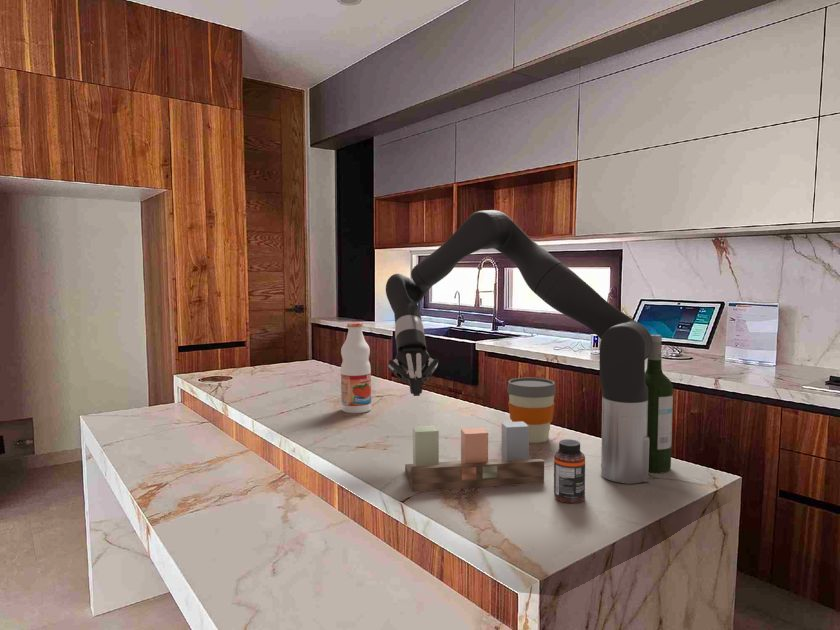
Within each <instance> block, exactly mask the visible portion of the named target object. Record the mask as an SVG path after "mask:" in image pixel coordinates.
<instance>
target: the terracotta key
mask: <svg viewBox="0 0 840 630" xmlns="http://www.w3.org/2000/svg"><path fill="white" fill-rule="evenodd" d="M488 459H489V431H487V430H486V429H485V428H484V427H470V428H460V461H461V464H464V463H481V462H488Z"/></svg>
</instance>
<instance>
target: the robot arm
mask: <svg viewBox="0 0 840 630" xmlns="http://www.w3.org/2000/svg"><path fill="white" fill-rule="evenodd" d="M488 249H494V250H496V251H497V252H499V253H501V254H502V255H504V256H505V257H506V258H507V259H509V260H510V261H511V262H512V263H513V264H514V265H515V266H516V267H517V270H518V271H519V273H520V274H521V276H522V278H523V280H524V281H525V284H526V285H527V286H528V288H529V289H530V290H531V291H532V292H533V293H534V294H535V295H536V296H537V297H538V298H540V299H541V300H542V301H543V302H544V303H546V304H547V305H548V306H550V307H551V308H552V309H553V310H556V311H557V312H558V313H561V314H562V315H564V316H566V317H568V318H571V319H572V320H574V321H576V322H578V323H580V324H582V325H583V326H585V327H587V328H588V329H589V330H590V331H592V332H593V333H594V334H595V336H597V337H598V338H599V339H600V342H599V350H598V351H599V355H598V356H599V364H598V365H599V383H600V387H601V388H602V389H601V390H602V396H601V397H602V400H601V401H602V403H601V405H602V406H601V407H602V408H601V409H602V410H601V450H600V451H601V455H600V457H601V458H600V468H601V469H600V470H601V471H600V474H601V476H602V477H603V478H604V479H606V480H609V481H611V482H614V483H620V484H629V485H632V484H640V483H649V437H648V435H647V426H648V387H647V385H646V383H645V372H646V369H645V368H646V360H648V357H649V356H650V354H651V353H652V350H653V339H652V337H651V335H652V334H651V333H650V331H649V330H648V329H647V328H646V327H645V326H644V325H643V324H642V323H640V322H638V321H636V320H635V319H633V318H632V317H630V316H629V315H627V314H626V313H624V312H623V311H621V310H620V309H618V308H617V307H615V306H613V305H612V304H611V303H609V302H608V301H607V300H606V299H605V298H603V296H601V295H600V294H599V293H598V292H597V291H596V290H595V289H594V288H592V286H590V285H589V284H588V283H587V282H586V281H584V280H583V279H582V278H581V277H580V276H579V275H578V274H576V272H574V271H573V270H571V268H569V267H568V266H567V265H566V264H564V263H563V262H562V261H560V260H559V259H557V258H556V257H555V256H553V255H552V254H551V253H549V251H548V250H547V249H545V248H543V247H542V246H540V245H539V244H538V243H537V242H536V241H534V240H533V239H532V238H531V237H530V236H528V235H527V234H526V232H524V231H523V230H522V228H520V227H519V225H517V224H516V223H515V221H514V220H513V219H512V218H511V217H510V216H508V215H507V214H506V213H504V212H502V211H499V210H495V209H489V210H488V209H487V210H478V211H476V212H473V213H472V214H470V215H469V216H468V218H466V220H465V221H464V222H463V223H462V224H461V225H460V226H459V227H458V228H457V229H456V230H455V232H454V233H453V234H451V236H450V237H448V239H447V240H446V241H445V242H443V244H442V245H440V246H439V247H438V248H437V249H436V250H434V251H433V252H432V253H430V255H427V257H425V258H424V259H422V260H421V261H419V262H418V263H417V264H416V265H415V266H414V267H412V269H411V273H410V276H411V278H410V277H408V276H406V275H404V274H402V273H394V274H392V275H390V277H389V278H388V280H386V284H385V295H386V297H387V301H388V303H389V306H390V308H391V309H392V313H393V314H394V315H393V316H394V325H395V326H394V335H395V336H394V338H395V345H396V355H395V359H393V360H392V359H390V360H389V361H388V366H387V367H388V370H389V371H391V373H393V374H394V375H395V376H396V377H397V378H398V379H399V380H400V381H401V382H403V383H405V382H407V383H409V390H410V394H411V395H413V397H419V396H421V394H422V393H423V382H427V381H428V380H429V379H430V377H431V376H432V375H433V373H434V372H435V370H436V369H437V368H438V365H439V359H438V358H434V359H433V358H432V357H431V355H430V354H429V352H428V351H427V343H426V342H427V340H426V336H425V335H426V334H425V330H424V329H425V328H424V324H423V321H422V315H421V314H422V313H421V309H420V306H419V305H418V304H420V303H421V301H422V300H423V298H424V297H425V296H426V294H427V293H429V290H430V289H431V288H432V287H433V286H435V285H436V284H437V283H439V282H440V281H442V280H444V278H446V277H447V276H448V275H449V274H450V273H451V272H452V271H453V269H454V268H455V266H457V264H458V263H459V262H460V261H461V260H463V259H464V258H465V257H467V256H469V255H471V254H473V253H476V252H478V251H480V250H488ZM426 365H427V368H426V369H425V371H423V372H422V370H423V369H424V368H425V366H426Z"/></svg>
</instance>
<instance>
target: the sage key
mask: <svg viewBox="0 0 840 630" xmlns="http://www.w3.org/2000/svg"><path fill="white" fill-rule="evenodd" d="M439 433H440V432H439V429H438V427H437V426H436V425H422V426H421V425H420V426H419V425H418V426H412V457H413V458H412V459H413V460H412V461H413V463H412V464H413V466H430V465H439V462H440V457H439V456H440V455H439V454H440V451H439V450H440V448H439V447H440V445H439V444H440V443H439V440H440V438H439V437H440V436H439Z"/></svg>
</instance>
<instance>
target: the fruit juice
mask: <svg viewBox="0 0 840 630" xmlns="http://www.w3.org/2000/svg"><path fill="white" fill-rule="evenodd" d="M363 327H364V324H363V322H357V321H356V322H355V321H354V322H353V321H352V322H348V323H347V324H346V328H347V329H348V331H347V335H346V339H345V341H344V343H343V344H342V346H341V349H340V354H341V358H342V363H341V365H340V378H341V379H340V381H341V382H340V385H341V386H340V387H341V410H342V412H343V413H347V414H362V413H363V414H364V413H367V412H370V411H371V410H372V377H371V376H372V368H371V367H372V366H371V362H370V360H369V359H370V353H371V350H370V349H371V348H370V346H369V344H368V343H367V340H366V339H365V336H364V334H363Z"/></svg>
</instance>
